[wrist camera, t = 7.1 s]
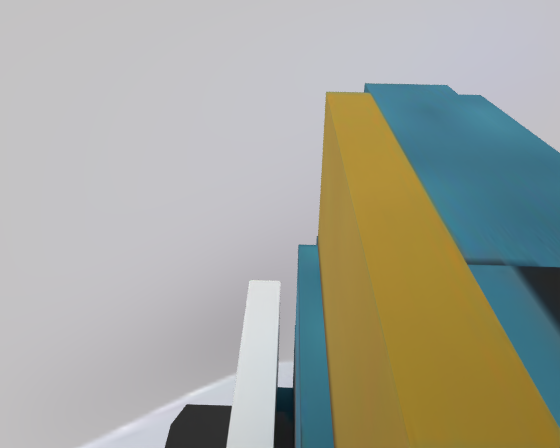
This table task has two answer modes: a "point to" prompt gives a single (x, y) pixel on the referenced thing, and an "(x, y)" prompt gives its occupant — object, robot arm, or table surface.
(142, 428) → the table surface
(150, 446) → the table surface
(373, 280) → the handheld gaming console
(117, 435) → the table surface
